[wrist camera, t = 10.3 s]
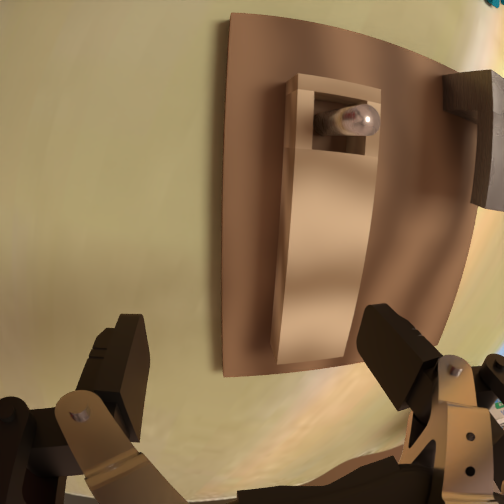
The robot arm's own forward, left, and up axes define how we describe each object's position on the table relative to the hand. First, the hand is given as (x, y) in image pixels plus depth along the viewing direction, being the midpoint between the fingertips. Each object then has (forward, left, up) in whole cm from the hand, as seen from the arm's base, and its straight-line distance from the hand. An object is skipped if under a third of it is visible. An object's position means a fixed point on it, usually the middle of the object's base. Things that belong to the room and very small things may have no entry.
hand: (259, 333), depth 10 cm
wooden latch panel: (+10, +2, -10) cm, 15 cm away
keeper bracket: (+18, +9, -9) cm, 22 cm away
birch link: (+5, +1, -9) cm, 11 cm away
